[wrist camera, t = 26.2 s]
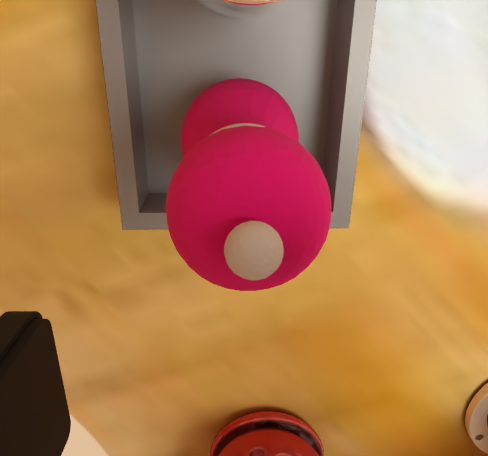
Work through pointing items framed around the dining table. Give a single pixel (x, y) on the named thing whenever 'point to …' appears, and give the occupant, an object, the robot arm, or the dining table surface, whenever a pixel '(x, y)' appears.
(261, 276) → the pepper mill
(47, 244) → the dining table surface
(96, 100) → the dining table surface
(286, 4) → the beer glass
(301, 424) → the plant pot
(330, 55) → the tote
